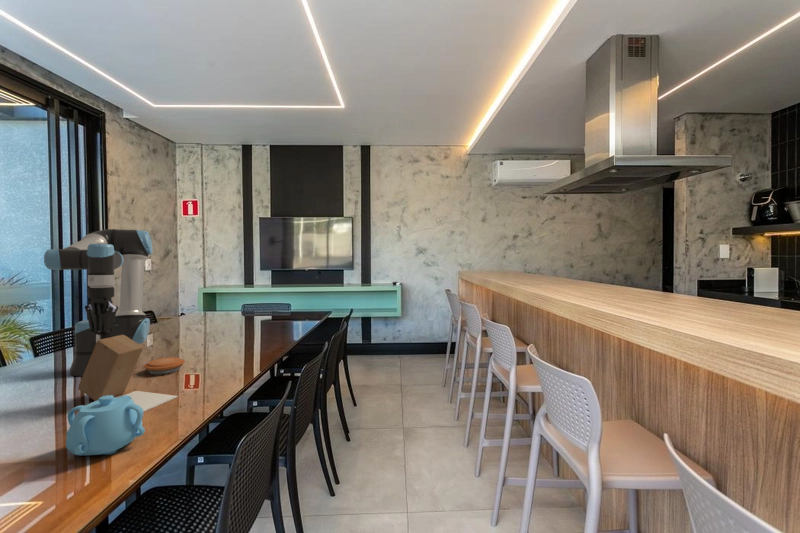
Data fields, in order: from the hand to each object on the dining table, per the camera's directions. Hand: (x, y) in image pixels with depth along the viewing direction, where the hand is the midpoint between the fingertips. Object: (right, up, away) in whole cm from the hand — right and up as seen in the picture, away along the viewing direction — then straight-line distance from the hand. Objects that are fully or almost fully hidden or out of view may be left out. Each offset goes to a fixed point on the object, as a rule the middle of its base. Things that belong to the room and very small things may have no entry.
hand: (101, 351), depth 133 cm
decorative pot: (+28, -18, -33) cm, 47 cm away
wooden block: (-1, -15, +1) cm, 15 cm away
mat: (+15, -17, -3) cm, 23 cm away
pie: (+2, -16, +32) cm, 36 cm away
